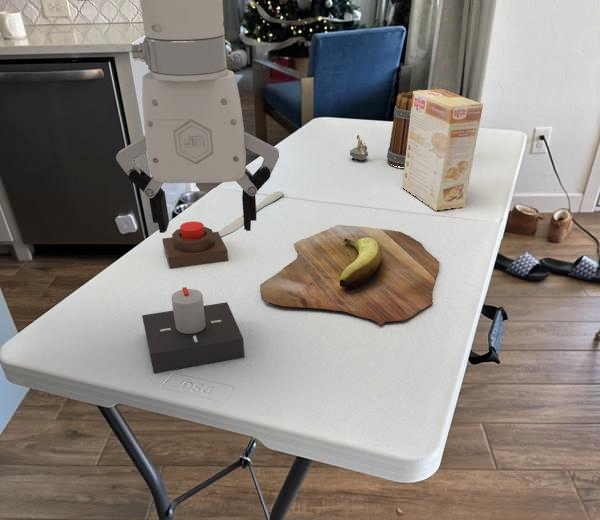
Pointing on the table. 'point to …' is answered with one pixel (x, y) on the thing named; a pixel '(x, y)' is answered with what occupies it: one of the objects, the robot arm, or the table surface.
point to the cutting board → (357, 274)
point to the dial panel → (193, 339)
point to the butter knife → (240, 221)
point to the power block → (194, 249)
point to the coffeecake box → (441, 147)
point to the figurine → (359, 151)
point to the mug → (400, 130)
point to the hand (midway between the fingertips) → (206, 227)
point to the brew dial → (188, 311)
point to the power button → (192, 230)
